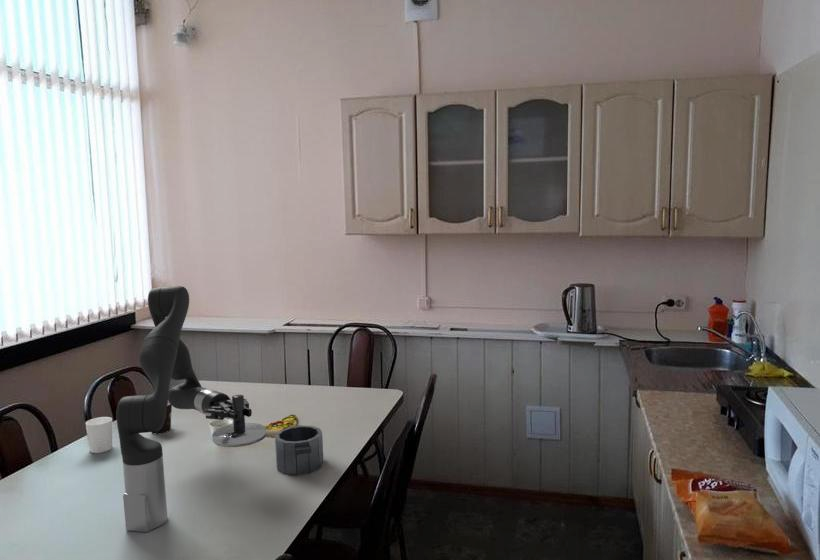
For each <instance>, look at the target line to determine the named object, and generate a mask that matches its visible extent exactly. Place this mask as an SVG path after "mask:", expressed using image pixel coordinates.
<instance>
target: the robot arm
mask: <svg viewBox="0 0 820 560" xmlns="http://www.w3.org/2000/svg"><path fill="white" fill-rule="evenodd" d="M147 304H148V305H147V306H148V310H149V314H150V317H151V318H152V319H151V320H152V322H153V324H154V328H153V329H152V330H151V331H150V332H149V333H148V334H147V335H146V337H145V338H144V340H143V342H142V345H141V348H140V349H141V350H140V354H139V356H138V357H139V358H138V361H139V364H140V365H139V366H140V368H141V369H142V371H143V372H144V374H145V376H146V377H147V378H148V380H149V381H150V383H151V385H152V387H153V391H152V393H151V394H140V395H129V396H128V395H127V396H123V397H121V398H120V399H119V401H118V403H117V407H116V414H115V415H116V417H115V419H116V425H117V430H118V432H117V433H118V438H119V447H120V454H121V456H122V457H121V458H122V467H123V479H124V480H123V481H124V493H123V495H122V497H123V498H122V500H123V509H124V510H123V511H124V520H125V521H124V522H125V530H126V531H130V532H132V531H133V532H138V533H139V532H140V533H141V532H142V533H149V532H151V530H153V529H154V530H155V529H157V528H158V527H160V526H163V525H164V524H165V523H166V522H167V520H168V507H167V492H166V482H165V481H166V478H165V468H164V454H163V445H162V444H161V443H160V441H157V440H155V439H151V438H147V437H145V436H143V435H141V434H146V433H152V432H155V431H159V430H160V429H161V428H162V427H163V425H164V422H165V418H166V411H167V404H168V401H169V403H170V404H171V405H172V408H175V409H179V410H195V411H198V412H200V413H201V414H204V415H205V419H208V420H209V419H210V420H217V421H219V420H220V421H223V420H225V419H231V420H233V419H234V420H240V414H239V412H236V411H233V407H232V398H230V396H229V395H227V394H226V393H224V392H220V391H218V390H213V389H209V388H206V387H202V385H201V383H200V381H199V380H198V378H197V375H196V373H195V371H194V368H193V365H192V359H191V354H190V351H189V349H188V346H187V345H186V343H185V342H184V341H182V339H181V338H180V337H181V334H182V329H183V326H184V323H185V320H186V317H187V314H188V310H189V308H190V306H189V305H190V294H189V291H188V289H187V288H186V287H184V286H182V285H173V286H171V285H170V286H162V287H155V288H151V289H150V290H149V292H148V295H147ZM171 380H174V381H182V380H185V381H184V382H181V383H179V384H177V385H174V386H172V387H171V386H170V385H171ZM170 387H171V388H170ZM244 413H245V417H248V418H251V416H252V413H253V412H252V408H250V403H249V400H248V399H246V398H244Z"/></svg>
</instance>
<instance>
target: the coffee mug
mask: <svg viewBox="0 0 820 560" xmlns="http://www.w3.org/2000/svg"><path fill="white" fill-rule="evenodd" d="M172 409H173V406H172V405H171V404H170V403H169V401H168V404H167V411H166V418H165V422H164V425H163V427H162V428H161V429H160V430H159V431H155V432H151V433H152V434H154V433H156V435H159V433H161V434H165V433H168V432H170V431H171V430H172V429H171V428H172ZM170 429H171V430H170ZM169 430H170V431H169ZM167 431H168V432H167Z"/></svg>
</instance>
